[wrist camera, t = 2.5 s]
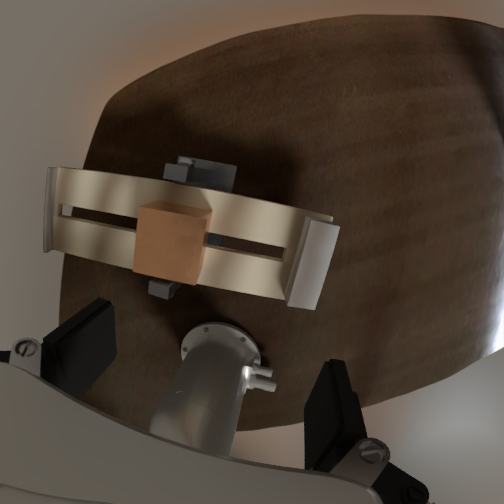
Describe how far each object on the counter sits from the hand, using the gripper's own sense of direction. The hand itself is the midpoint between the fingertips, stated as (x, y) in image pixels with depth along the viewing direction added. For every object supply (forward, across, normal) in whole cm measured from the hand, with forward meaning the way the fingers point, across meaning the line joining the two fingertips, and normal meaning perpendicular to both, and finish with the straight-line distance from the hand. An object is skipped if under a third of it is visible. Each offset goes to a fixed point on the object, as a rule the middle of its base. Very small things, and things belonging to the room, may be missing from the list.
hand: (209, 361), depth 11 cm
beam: (+18, +9, 0) cm, 21 cm away
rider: (+18, +8, 0) cm, 20 cm away
